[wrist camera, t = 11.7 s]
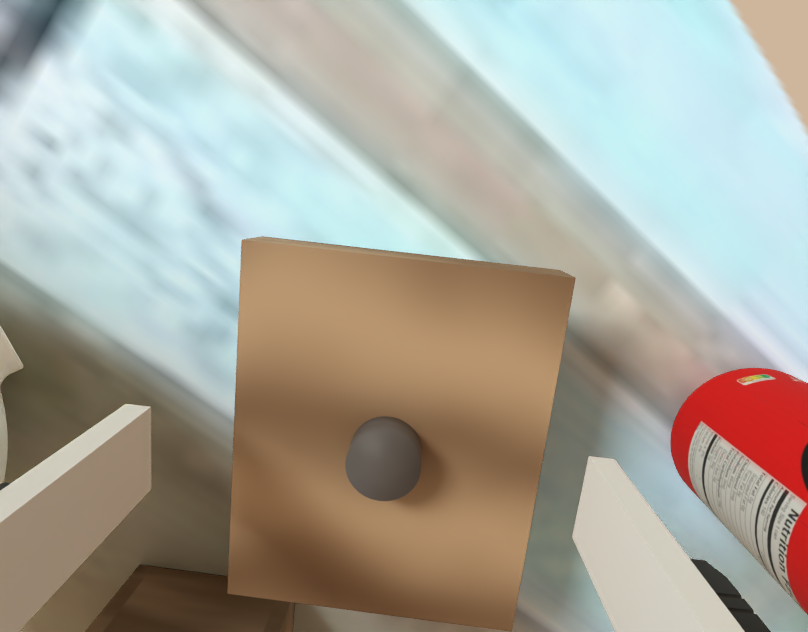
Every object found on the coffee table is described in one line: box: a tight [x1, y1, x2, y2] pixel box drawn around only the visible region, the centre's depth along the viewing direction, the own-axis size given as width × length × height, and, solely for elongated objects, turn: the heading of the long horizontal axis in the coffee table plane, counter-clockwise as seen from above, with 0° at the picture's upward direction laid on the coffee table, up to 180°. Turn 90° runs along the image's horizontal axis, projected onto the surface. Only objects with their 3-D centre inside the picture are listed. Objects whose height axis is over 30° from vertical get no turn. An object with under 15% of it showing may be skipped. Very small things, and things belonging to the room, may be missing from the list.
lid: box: [227, 237, 575, 631], centre depth 18 cm, size 13×10×3 cm
